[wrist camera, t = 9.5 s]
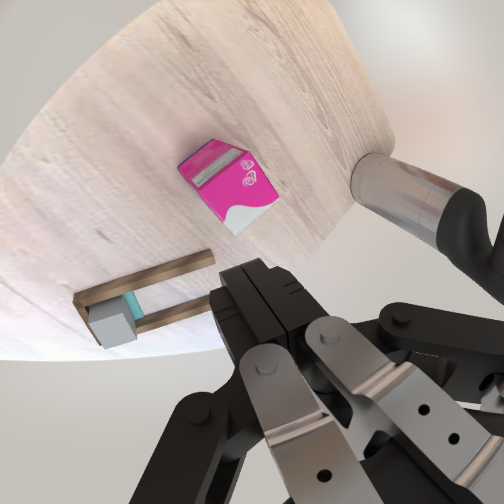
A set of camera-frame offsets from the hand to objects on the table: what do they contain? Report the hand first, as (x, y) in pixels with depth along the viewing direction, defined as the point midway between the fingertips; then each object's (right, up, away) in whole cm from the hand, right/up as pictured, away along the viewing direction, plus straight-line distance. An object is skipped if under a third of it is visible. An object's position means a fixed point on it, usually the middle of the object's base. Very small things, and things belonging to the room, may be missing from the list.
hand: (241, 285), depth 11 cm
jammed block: (-19, -7, +27) cm, 34 cm away
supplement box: (-5, +11, +24) cm, 27 cm away
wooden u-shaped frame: (-14, -5, +29) cm, 32 cm away
